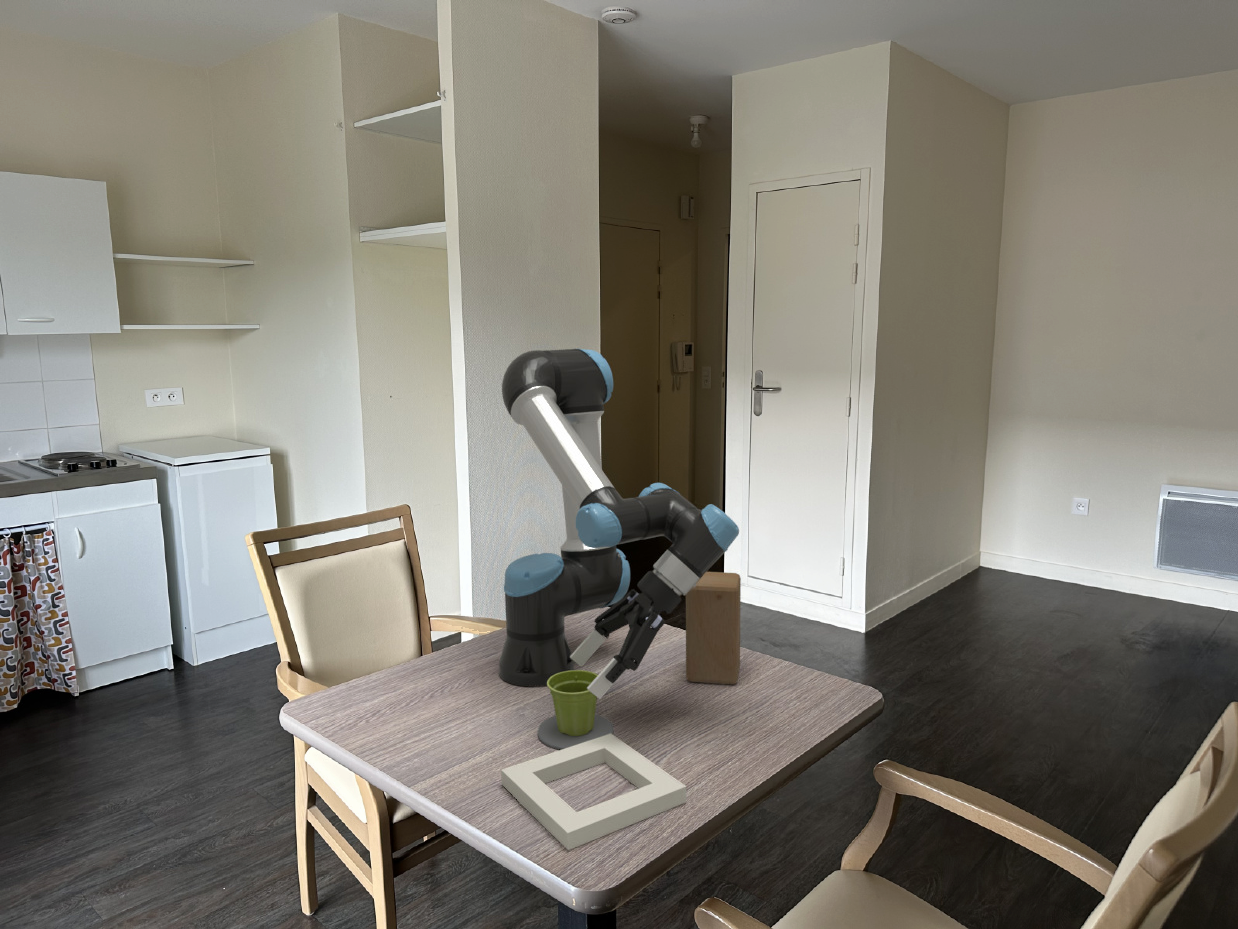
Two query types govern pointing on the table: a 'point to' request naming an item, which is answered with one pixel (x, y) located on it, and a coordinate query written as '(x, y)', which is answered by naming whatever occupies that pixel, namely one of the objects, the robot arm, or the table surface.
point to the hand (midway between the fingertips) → (583, 677)
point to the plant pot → (573, 701)
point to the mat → (559, 740)
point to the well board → (602, 818)
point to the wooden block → (713, 629)
